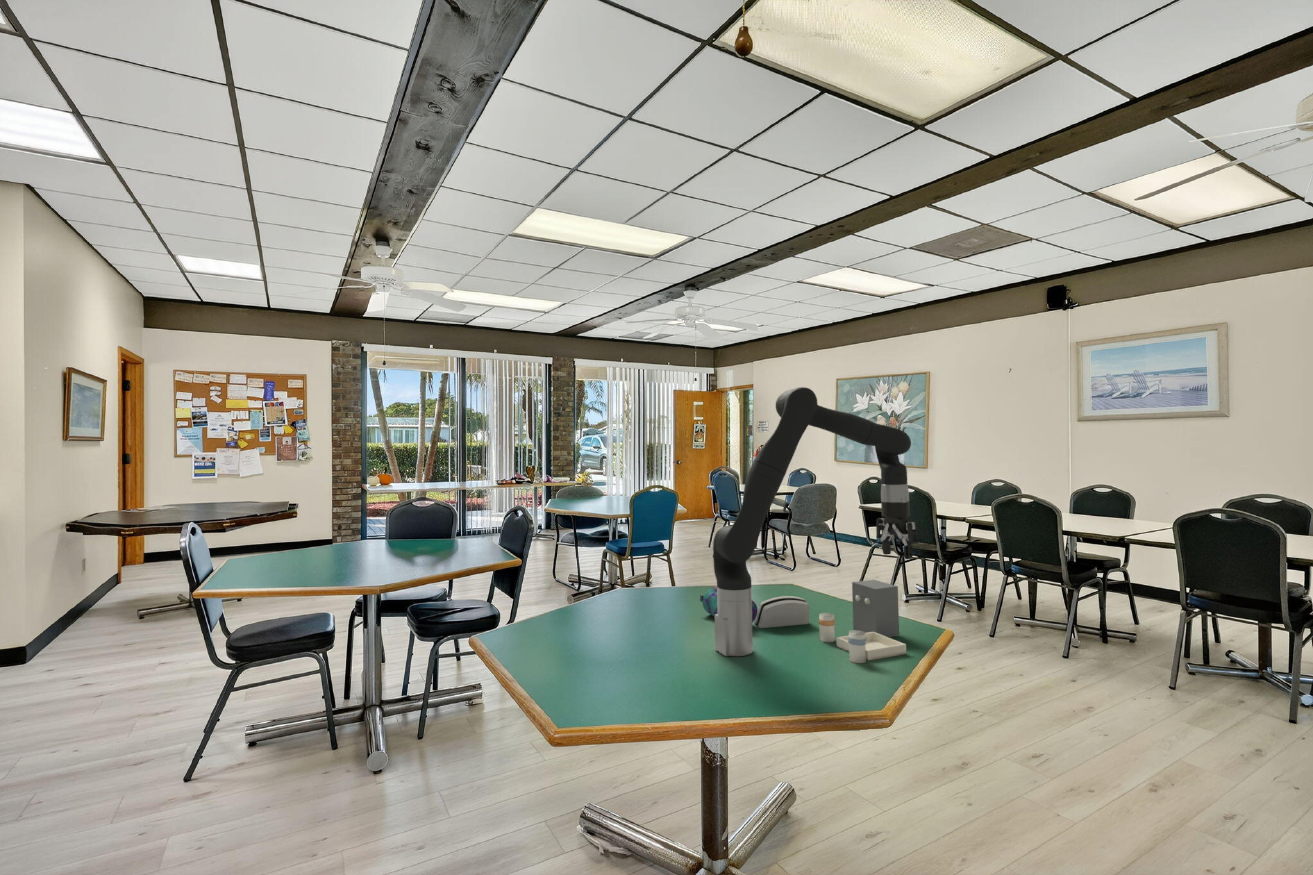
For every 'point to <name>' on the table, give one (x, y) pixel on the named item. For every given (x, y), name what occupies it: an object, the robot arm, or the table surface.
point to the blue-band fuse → (857, 646)
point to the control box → (875, 607)
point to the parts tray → (876, 646)
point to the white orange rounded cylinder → (827, 627)
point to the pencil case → (711, 603)
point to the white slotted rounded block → (782, 612)
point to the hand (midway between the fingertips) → (897, 556)
